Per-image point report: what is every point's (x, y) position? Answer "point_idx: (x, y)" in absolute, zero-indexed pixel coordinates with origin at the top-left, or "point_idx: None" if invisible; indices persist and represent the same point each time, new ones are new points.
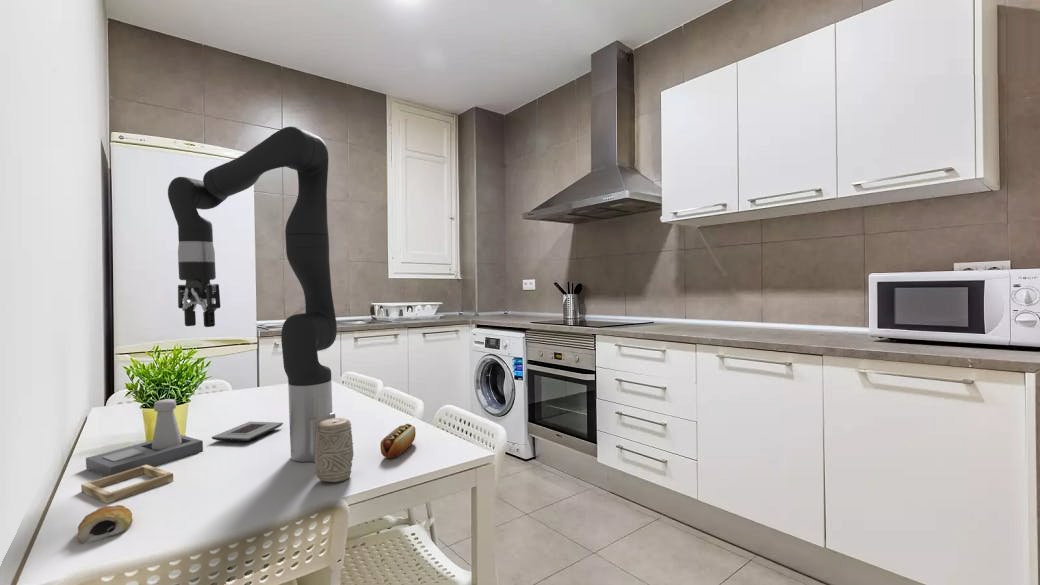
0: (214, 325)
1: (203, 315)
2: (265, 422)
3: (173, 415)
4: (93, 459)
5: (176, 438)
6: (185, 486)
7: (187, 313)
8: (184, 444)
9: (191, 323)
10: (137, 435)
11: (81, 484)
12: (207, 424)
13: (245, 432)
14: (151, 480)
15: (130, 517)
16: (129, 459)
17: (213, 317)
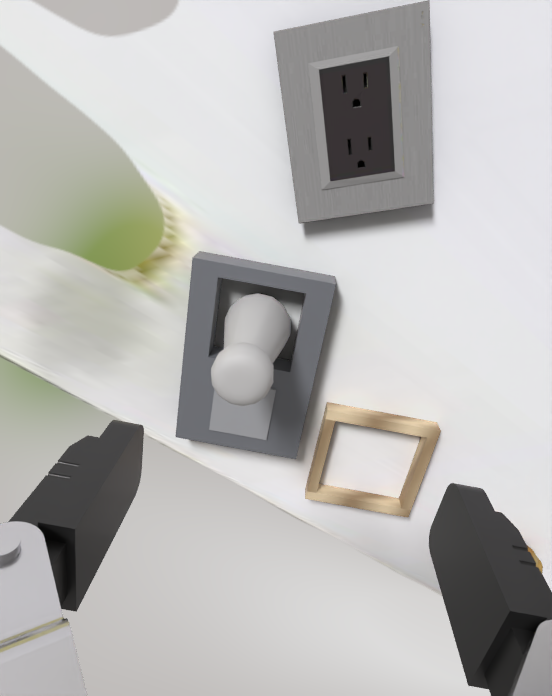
0: (480, 490)
1: (458, 643)
2: (350, 22)
3: (265, 348)
4: (202, 438)
5: (287, 328)
6: (488, 434)
7: (88, 577)
8: (314, 320)
9: (134, 464)
10: (3, 229)
11: (305, 498)
12: (85, 62)
13: (384, 164)
14: (427, 462)
15: (532, 555)
16: (285, 422)
17: (533, 578)
